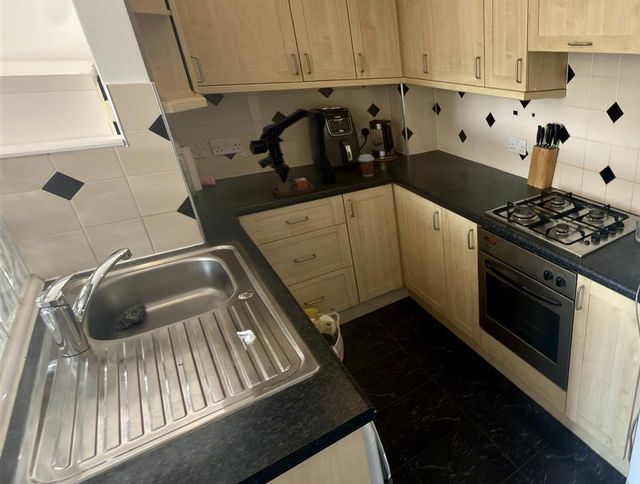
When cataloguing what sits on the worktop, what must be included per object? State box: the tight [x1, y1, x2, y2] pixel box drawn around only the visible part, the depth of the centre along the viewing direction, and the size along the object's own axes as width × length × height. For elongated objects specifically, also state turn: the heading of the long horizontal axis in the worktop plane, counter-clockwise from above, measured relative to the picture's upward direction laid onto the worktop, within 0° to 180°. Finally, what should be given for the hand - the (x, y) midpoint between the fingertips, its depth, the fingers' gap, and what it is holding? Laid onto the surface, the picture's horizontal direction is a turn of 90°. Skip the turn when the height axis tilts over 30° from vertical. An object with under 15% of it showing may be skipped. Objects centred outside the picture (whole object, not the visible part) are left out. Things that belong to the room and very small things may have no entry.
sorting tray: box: [271, 180, 316, 199], centre depth 217 cm, size 18×12×2 cm, turn 131°
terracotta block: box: [293, 177, 308, 190], centre depth 219 cm, size 5×5×5 cm
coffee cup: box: [357, 153, 375, 178], centre depth 244 cm, size 9×9×12 cm
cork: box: [275, 173, 291, 193], centre depth 213 cm, size 6×6×11 cm
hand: (281, 180), depth 212 cm, fingers open, 9 cm apart
